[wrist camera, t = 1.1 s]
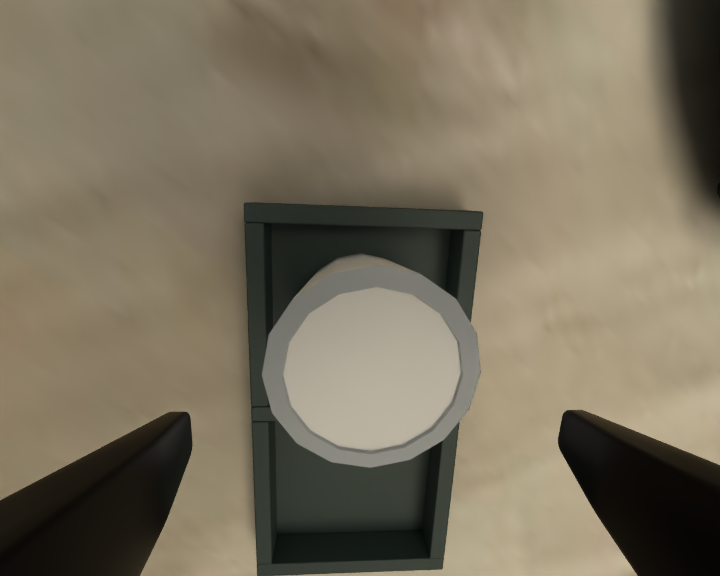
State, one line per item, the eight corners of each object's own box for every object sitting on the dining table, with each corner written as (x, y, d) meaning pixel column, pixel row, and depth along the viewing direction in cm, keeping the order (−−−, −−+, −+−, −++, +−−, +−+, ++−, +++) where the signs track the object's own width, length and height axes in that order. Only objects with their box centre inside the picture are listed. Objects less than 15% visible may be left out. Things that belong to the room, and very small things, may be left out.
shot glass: (361, 209, 17) (379, 215, 10) (454, 309, 18) (526, 373, 11) (260, 309, 18) (212, 377, 11) (357, 397, 19) (369, 506, 12)
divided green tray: (432, 535, 22) (442, 569, 20) (264, 540, 21) (257, 576, 19) (466, 210, 17) (484, 211, 15) (254, 202, 17) (243, 202, 15)
